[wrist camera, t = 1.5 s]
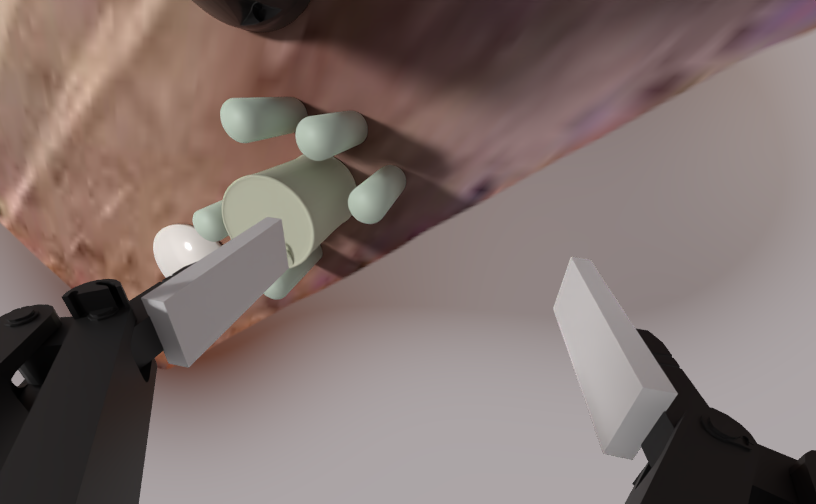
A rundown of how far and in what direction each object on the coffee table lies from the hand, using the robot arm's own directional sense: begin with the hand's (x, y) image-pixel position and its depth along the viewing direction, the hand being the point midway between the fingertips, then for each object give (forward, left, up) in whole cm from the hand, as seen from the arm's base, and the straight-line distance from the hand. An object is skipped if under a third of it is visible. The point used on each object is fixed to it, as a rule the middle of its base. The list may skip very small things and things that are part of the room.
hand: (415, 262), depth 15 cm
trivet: (-23, -33, -23) cm, 46 cm away
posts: (-11, -11, -23) cm, 28 cm away
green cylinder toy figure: (-11, -11, -23) cm, 28 cm away
